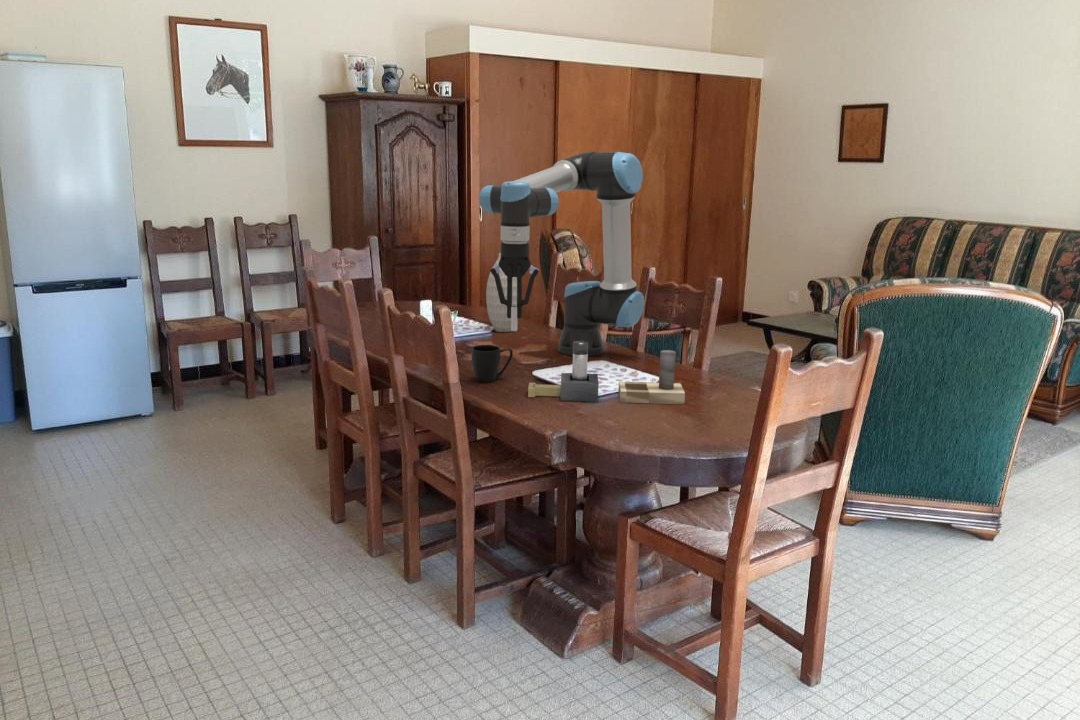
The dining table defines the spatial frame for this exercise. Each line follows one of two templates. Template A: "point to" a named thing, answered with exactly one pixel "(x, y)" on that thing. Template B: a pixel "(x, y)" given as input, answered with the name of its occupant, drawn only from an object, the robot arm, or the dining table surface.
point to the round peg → (580, 361)
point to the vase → (494, 306)
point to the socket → (579, 388)
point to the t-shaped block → (543, 390)
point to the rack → (655, 386)
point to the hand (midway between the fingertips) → (514, 329)
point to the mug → (488, 362)
